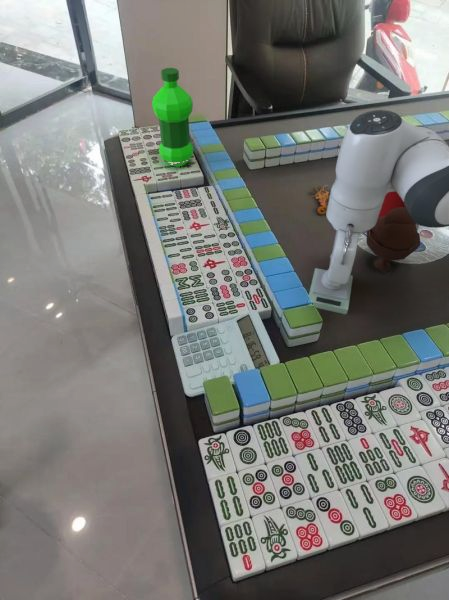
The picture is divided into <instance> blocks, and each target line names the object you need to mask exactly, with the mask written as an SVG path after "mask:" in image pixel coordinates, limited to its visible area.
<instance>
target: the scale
mask: <svg viewBox="0 0 449 600" xmlns="http://www.w3.org/2000/svg"><path fill="white" fill-rule="evenodd" d="M327 270H328V269H321V268H317V267H315V268H314V271H313V276H312V280H311V285H310V288H309V293H308V297H310V298H311V301H312V303H313V305H314V306H315V307H316V309H320V310H324V311H329V312H334V313H338V314H341V315H347V314H348V311H349V307H350V299H351V293H352V286H353V279H354V275H351V274H350V278H349V281H348V283H347V284H343V286H342V287H341V288H339V289H336V290H331V289H328V288H326V287H325V286H324V285H323V284H322V281H321V279H322V276H323V274H324V273H325V272H326V271H327ZM315 307H314V308H315Z"/></svg>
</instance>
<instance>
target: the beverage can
mask: <svg viewBox="0 0 449 600" xmlns="http://www.w3.org/2000/svg"><path fill="white" fill-rule="evenodd" d="M398 207H405V208H406V206H405V204H404V202H403V200H402V199H401V197H400V196H399V195H398V193H397V192H396V191H393V192H388V193H387V194H386V195H385V198H384V201H383V204H382V208H381V211H380V214H379V217H378V219H379V218H381V217H383V216H386V214H387V213H388V212H389V211H391V210H392V209H395V208H398Z"/></svg>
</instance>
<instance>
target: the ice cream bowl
mask: <svg viewBox="0 0 449 600" xmlns="http://www.w3.org/2000/svg"><path fill="white" fill-rule="evenodd" d="M416 225H417V224H416V223H415V222H414V221H413V220H412V218H411V216H410V214H409V212H408V210H407V208H405V207H398V208H395V209H392V210H391V211H389V212H388V213H387V214H386V216H383V217H381V218H379V219H378V220H377V223H376V225H375V226H374V227H373V228H371V229H370V230H367V231H366V245H367V247H368V248H369V249H370V251H371V252H372V253H374V255H376V257H377V259H376V260H374V261H373V262H374V263H373V265H374V267H376V268H377V269H379V270H381V271H386V270H389V269H390V268H391V263H390V262H389V261H400V260H405V259H406V258H408V257H409V256H410V255H411V254H412V253H414V252H416V250H418V249H419V247H420V246H421V237H420V235H421V234H420V233H419V231H418V230H417V227H416ZM378 258H379V259H378Z"/></svg>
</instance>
